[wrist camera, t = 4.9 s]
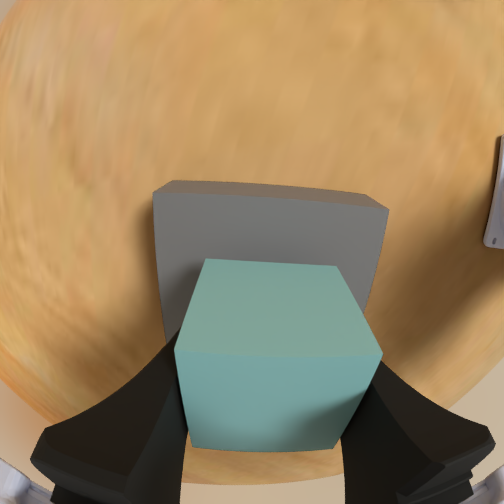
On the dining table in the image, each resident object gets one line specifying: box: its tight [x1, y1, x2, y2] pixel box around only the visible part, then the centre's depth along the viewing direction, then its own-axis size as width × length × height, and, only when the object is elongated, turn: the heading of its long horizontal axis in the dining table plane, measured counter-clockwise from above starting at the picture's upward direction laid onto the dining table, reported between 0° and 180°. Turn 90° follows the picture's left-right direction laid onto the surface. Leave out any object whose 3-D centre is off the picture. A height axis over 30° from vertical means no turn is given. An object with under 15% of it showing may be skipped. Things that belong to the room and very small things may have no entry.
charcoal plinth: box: [153, 181, 389, 344], centre depth 14 cm, size 10×10×3 cm
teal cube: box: [174, 258, 383, 452], centre depth 9 cm, size 5×5×5 cm
